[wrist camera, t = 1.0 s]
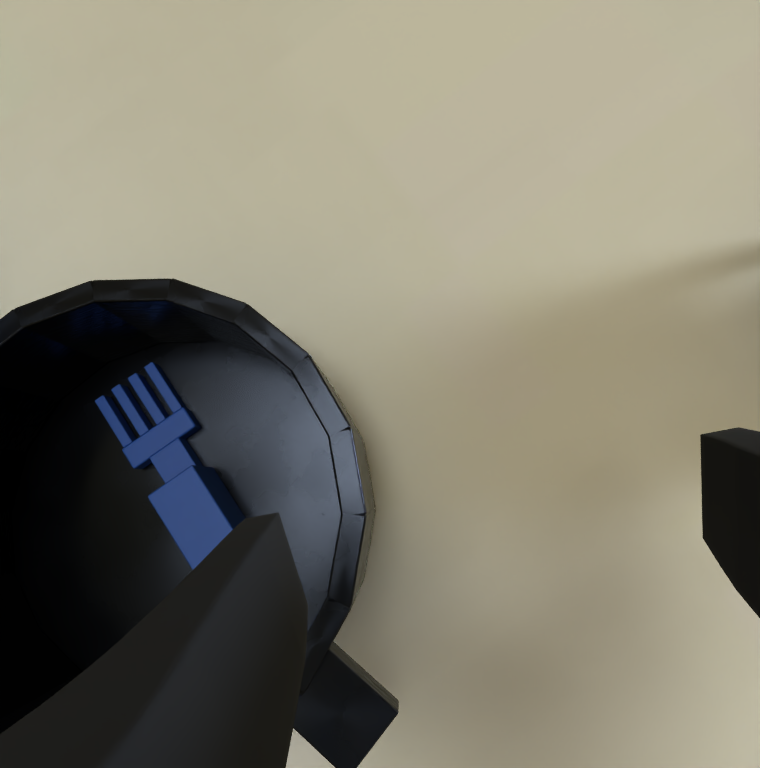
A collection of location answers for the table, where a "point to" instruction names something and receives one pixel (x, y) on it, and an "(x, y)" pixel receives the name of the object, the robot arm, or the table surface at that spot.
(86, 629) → the pot
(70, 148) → the table surface
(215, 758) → the robot arm
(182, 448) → the fork
